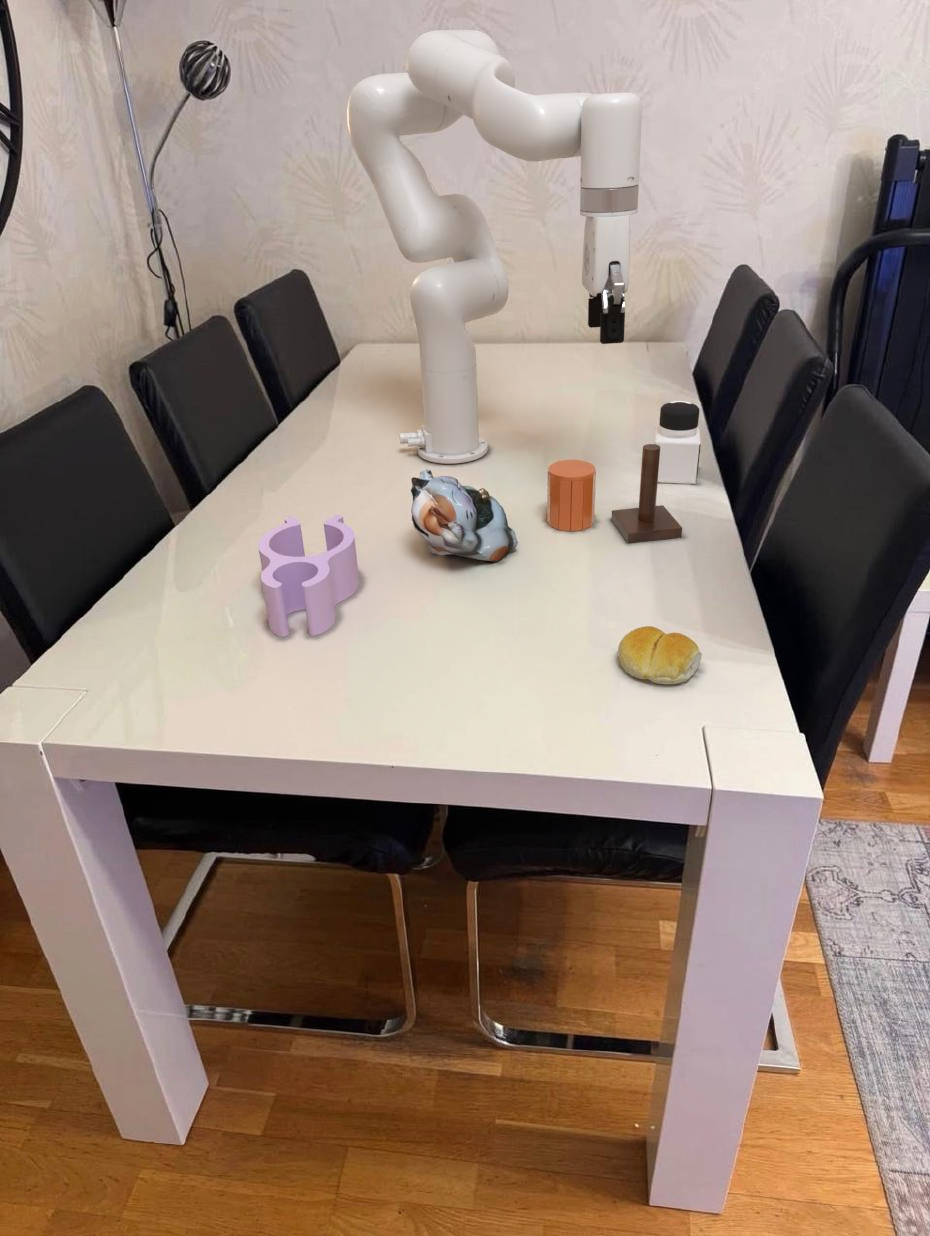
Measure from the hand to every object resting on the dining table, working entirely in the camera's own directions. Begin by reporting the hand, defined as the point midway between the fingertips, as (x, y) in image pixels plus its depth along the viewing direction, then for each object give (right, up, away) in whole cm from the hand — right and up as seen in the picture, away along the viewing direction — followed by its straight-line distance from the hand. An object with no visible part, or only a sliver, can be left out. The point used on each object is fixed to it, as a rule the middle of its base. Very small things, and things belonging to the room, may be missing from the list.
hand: (605, 334), depth 126 cm
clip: (-40, -37, -8) cm, 55 cm away
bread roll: (+2, -45, -25) cm, 52 cm away
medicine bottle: (+15, -17, +22) cm, 31 cm away
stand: (+7, -27, +5) cm, 28 cm away
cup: (-4, -25, +8) cm, 27 cm away
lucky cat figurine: (-20, -31, +1) cm, 36 cm away
